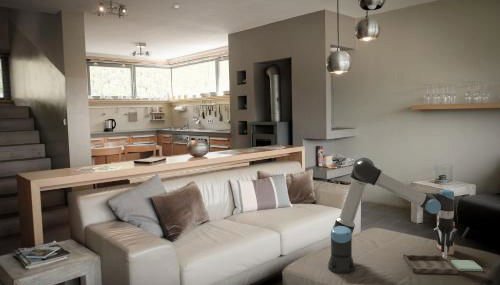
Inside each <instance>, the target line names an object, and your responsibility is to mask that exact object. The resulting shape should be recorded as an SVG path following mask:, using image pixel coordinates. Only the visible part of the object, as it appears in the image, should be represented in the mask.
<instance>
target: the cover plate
mask: <svg viewBox="0 0 500 285" xmlns="http://www.w3.org/2000/svg"><path fill="white" fill-rule="evenodd" d="M450 263H451V264H452V265H453V266H454V268H455V269H458V271H459V272H482V273H483V272H484V271H483V270H484V269H483V268H482V267H481V265H479V264H478V263H476V262H475V261H474V260H473V259H471V260H470V259H450Z"/></svg>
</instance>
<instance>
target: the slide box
mask: <svg viewBox="0 0 500 285" xmlns="http://www.w3.org/2000/svg"><path fill="white" fill-rule="evenodd" d="M402 259H403V260H404V262H405V263H406V265H407V267H408V268H409V269H410V270H411V271H412V273H413V274H446V275H448V274H455V275H457V274H458V273H459V272H458V271H459V270H458V269H457V268H456V267H454V268H453V267H452V266H451V265H450V264H449V263H448V262H447V260H445V258H443V257H442V254H441V255H439V254H438V255H437V254H402Z"/></svg>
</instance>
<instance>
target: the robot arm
mask: <svg viewBox="0 0 500 285" xmlns="http://www.w3.org/2000/svg"><path fill="white" fill-rule="evenodd" d="M349 178H350V180H351V182H350V185H349V187H348V191H347V194H346V197H345V201H344V203H343V206H342V209H341V212H340V215H339V216H338V217H336V219H335V222H334V225H333V227H332V228H331V229H330V256H329V261H328V264H327V266H328V267H327V269H328V270H329V271H331V272H332V273H336V274H340V275H345V274H346V275H347V274H348V275H349V274H352V273H354V272H355V270H356V263H355V261H354V258H353V254H352V253H353V247H352V246H353V243H352V242H353V239H352V237H353V233H354V230H355V227H356V224H355V222H354V221H355V218H356V216H357V213H358V210H359V207H360V205H361V201H362V199H363V195H364V192H365V189H366V186H367V185H372V186H374V187H375V186H377V187H380V188H382V189H383V190H385V191H388V192H390V193H391V194H394V195H395V196H398V197H400V198H402V199H404V200H406V201H408V202H410V203H412V204H414V205H416V206H418V207H420V208H421V209H423V210H426V212H428V213H429V214H433V215H436V214H438V216H440V217H439V225H438V227H435V228H433V232H434V234H435V238H436V244H437V243H438V245H439V246H441V251H442V252H443V253H442V252H441V251H440V252H441V255H442V257H443V258H444V259H447V258H448V254H447V252H449V247H450V246H453V243H454V244H455V240H456V237H457V234H458V232H459V230H458V229H457V228H454V226H453V222H454V220H455V218H454V215H455V214H454V213H455V200H456V199H455V192H454V191H453V190H451V189H440V190H439V193H438V192H437V193H435V192H433V193H432V192H422V191H420V190H418V189H416V188H414V187H413V186H412V187H411V186H410V185H408V184H405V183H404V182H401V181H400V180H398V179H396V178H393V177H391V176H390V175H388V174H386V173H384V172H383V170H381V169H380V168H378V167H376V166H375V163H374V162H373V161H372V160H371V159H370V158H368V157H360V158H358V159H356V160H354V163H353V165H352V171H351V173H350V177H349ZM439 230H440V231H441V241H440V236H439V233H438V232H439ZM452 230H453V232H452V235H451V238H450V233H451V231H452ZM445 234H446V246H445Z"/></svg>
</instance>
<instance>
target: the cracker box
mask: <svg viewBox="0 0 500 285" xmlns="http://www.w3.org/2000/svg"><path fill="white" fill-rule="evenodd" d="M439 217H440V216H439V215H437V218H436V220H437V225H436V226H437V227H438V225H439ZM455 223H456V222H454V221H453V226H454V228H455V227H456V224H455ZM437 227H436V228H437ZM455 229H456V228H455ZM452 232H453V230H452V231H451V233H450V238H451V235H452ZM438 233H439V236H440V241H441V231H440V230H439V232H438ZM445 246H446V234H445ZM436 249H438V250H439V251H440V252H441V254H443V252H442V251H441V246H439V245H438V243H437V242H436ZM454 254H455V242H454V243H453V246H450V247H449V252H447V256H449V255H450V256H452V255H454Z"/></svg>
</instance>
